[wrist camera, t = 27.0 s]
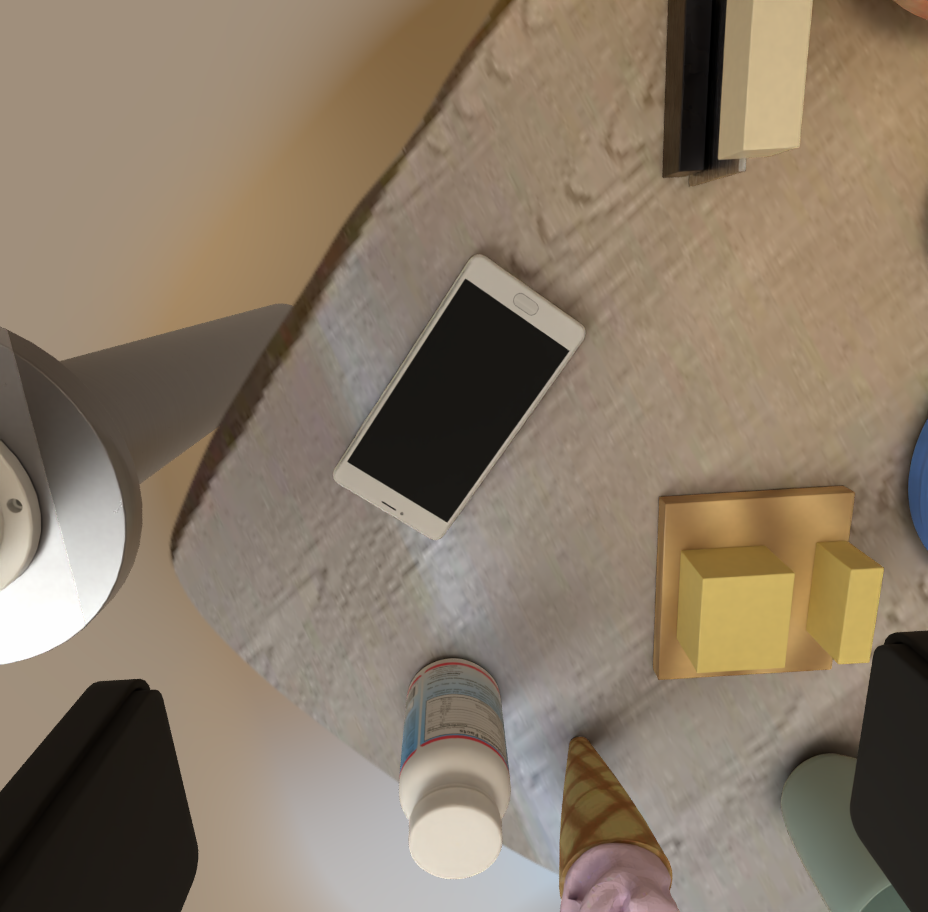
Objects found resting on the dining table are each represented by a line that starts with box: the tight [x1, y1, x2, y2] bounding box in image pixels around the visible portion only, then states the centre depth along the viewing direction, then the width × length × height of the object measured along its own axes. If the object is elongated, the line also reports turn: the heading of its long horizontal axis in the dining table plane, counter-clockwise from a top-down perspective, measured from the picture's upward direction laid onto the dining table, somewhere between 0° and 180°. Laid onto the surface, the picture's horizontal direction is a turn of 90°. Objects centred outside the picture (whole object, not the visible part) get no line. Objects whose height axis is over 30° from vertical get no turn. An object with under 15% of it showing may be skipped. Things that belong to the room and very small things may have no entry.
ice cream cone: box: [559, 737, 680, 912], centre depth 36 cm, size 7×6×15 cm
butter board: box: [653, 486, 855, 680], centre depth 39 cm, size 11×12×1 cm
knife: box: [689, 0, 813, 186], centre depth 27 cm, size 2×9×8 cm, turn 3°
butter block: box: [677, 545, 795, 673], centre depth 37 cm, size 5×6×4 cm
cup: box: [781, 753, 911, 912], centre depth 40 cm, size 8×8×10 cm
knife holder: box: [663, 0, 712, 178], centre depth 30 cm, size 3×8×2 cm, turn 3°
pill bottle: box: [399, 658, 511, 879], centre depth 36 cm, size 6×6×11 cm
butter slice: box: [806, 541, 884, 664], centre depth 37 cm, size 2×6×4 cm, turn 3°
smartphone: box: [333, 254, 586, 540], centre depth 35 cm, size 8×1×15 cm
